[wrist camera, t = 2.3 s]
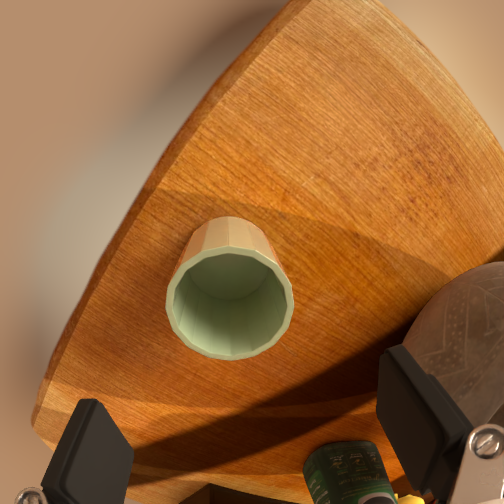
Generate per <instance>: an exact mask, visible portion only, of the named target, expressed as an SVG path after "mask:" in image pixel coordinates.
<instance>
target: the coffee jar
mask: <svg viewBox="0 0 504 504" xmlns="http://www.w3.org/2000/svg"><path fill="white" fill-rule="evenodd" d="M303 475H304V478H305V481H306V484H307V487H308V489H309V492H310V494H311V497H312V499H313V501H314V504H398V502H397V500H396V497H395V495H394V492H393V490H392V487H391V484H390V482H389V479H388V476H387V473H386V470H385V467H384V464H383V461H382V459H381V456H380V454H379V451H378V449H377V447H376V445H375V444H374V443H373V442H370V441H347V442H337V443H330V444H326V445H324V446H322V447H320V448H319V449H317V450H316V451H314V452H313V453H312V454H311V455H310V456H309V457H308V459H307V460H306V462H305V464H304V467H303Z"/></svg>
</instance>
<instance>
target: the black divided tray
mask: <svg viewBox="0 0 504 504" xmlns="http://www.w3.org/2000/svg"><path fill="white" fill-rule="evenodd" d="M179 504H299V503H293V502H287V501H281V500H276V499H271V498H266V497H261V496H257V495H253V494H248V493H244V492H240V491H236V490H233V489H229V488H225V487H222V486H218V485H215V484H212V483H209V484H208V485H206V486H205V487H203V488H202V489H200V490H199V491H197V492H196V493H194V494H193V495H191V496H190V497H188V498H186V499H185V500H183V501H182V502H180V503H179Z"/></svg>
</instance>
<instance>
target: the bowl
mask: <svg viewBox="0 0 504 504" xmlns="http://www.w3.org/2000/svg"><path fill="white" fill-rule="evenodd" d="M402 345H403V346H404V347H405V348H406V349H407V350H408V352H409V353H410V354H411V355H412V357H413V358H414V359H415V360H416V362H417V363H418V364H419V365H420V367H421V368H422V369H423V370H424V372H425V373H426V374H432V375H433V376H435V377H436V379H437V380H438V381H439V382H440V384H441V385H442V386H443V387H444V389H445V390H446V391H447V392H448V394H449V395H450V396H451V398H452V399H453V400H454V401H455V403H456V404H457V405H458V407H459V408H460V409H461V410H462V412H463V413H464V414H465V416H466V417H467V418H468V420H469V421H470V422H471V424H472V425H473V426H474V428H477V427H478V426H481V425H484V424H495V425H499V426H501V427H503V428H504V262H493V263H488V264H485V265H482V266H478V267H476V268H473V269H470V270H468V271H467V272H465V273H463V274H461V275H459V276H458V277H456V278H454V279H453V280H452V281H450V282H449V283H448V284H446V285H445V286H444V287H443V288H441V289H440V290H439V291H438V292H437V293H436V294H435V295H434V296H433V297H432V298H431V299H430V300H429V301H428V303H427V304H426V305H425V306H424V308H423V309H422V310H421V312H420V313H419V315H418V316H417V318H416V320H415V321H414V323H413V324H412V326H411V327H410V329H409V331H408V333H407V335H406V337H405V338H404V341H403V343H402Z"/></svg>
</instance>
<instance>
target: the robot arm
mask: <svg viewBox="0 0 504 504" xmlns="http://www.w3.org/2000/svg"><path fill="white" fill-rule="evenodd" d="M376 413H377V417H378V419H379V421H380V423H381V425H382V427H383V429H384V431H385V433H386V435H387V437H388V439H389V441H390V443H391V445H392V447H393V449H394V451H395V453H396V455H397V457H398V459H399V461H400V463H401V466H402V468H403V470H404V472H405V474H406V476H407V478H408V480H409V482H410V484H411V486H412V488H413V489H414V490H415V491H417V490H419V491H420V493H421V495H422V496H423V495H425V494H427V493H429V492H432V494H433V496H434V498H435V499H437V500H436V503H435V504H504V428H503V427H501V426H499V425H495V424H484V425H481V426H478V427H477V428H474V426H473V425H472V424H471V422H470V421H469V420H468V418H467V417H466V416H465V414H464V413H463V412H462V410H461V409H460V408H459V407H458V405H457V404H456V403H455V401H454V400H453V399H452V398H451V396H450V395H449V394H448V392H447V391H446V390H445V389H444V387H443V386H442V385H441V384H440V382H439V381H438V380H437V379H436V377H435V376H433V375H432V374H426V373H425V372H424V370H423V369H422V368H421V367H420V365H419V364H418V363H417V362H416V360H415V359H414V358H413V357H412V355H411V354H410V353H409V352H408V350H407V349H406V348H405V347H404V346H403V345H402V344H399V345H396V346H393V347H390V348H387V349H385V350H384V354H382V355H380V358H379V377H378V391H377V404H376ZM133 460H134V451H133V449H132V447H131V446H130V444H129V443H128V441H127V440H126V439H125V437H124V436H123V434H122V433H121V431H120V430H119V428H118V427H117V425H116V424H115V422H114V421H113V419H112V418H111V416H110V415H109V413H108V412H107V410H106V408H105V407H104V405H103V404H102V403H101V402H99V401H98V400H97V399H80V400H79V402H78V404H77V406H76V408H75V410H74V412H73V414H72V416H71V418H70V420H69V422H68V424H67V426H66V428H65V430H64V432H63V435H62V437H61V439H60V441H59V443H58V445H57V448H56V450H55V452H54V454H53V457H52V459H51V461H50V464H49V466H48V468H47V470H46V473H45V475H44V477H43V480H42V482H41V486H42V487H43V490H42V491H41V490H40V489H38V488H35V487H29V488H26V489H24V490H22V491H21V492H20V493H19V494H18V495H17V497H16V499H15V503H14V504H124V499H125V495H126V490H127V486H128V481H129V477H130V473H131V468H132V464H133Z"/></svg>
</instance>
